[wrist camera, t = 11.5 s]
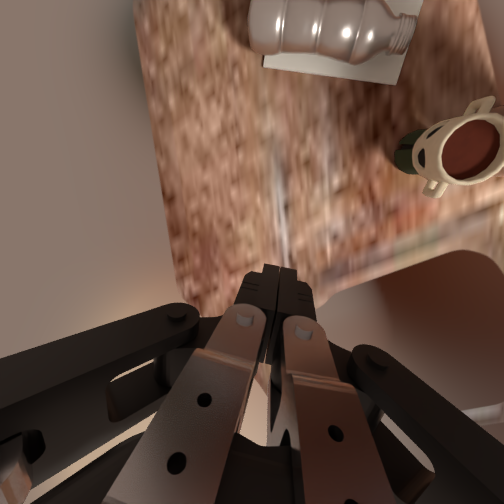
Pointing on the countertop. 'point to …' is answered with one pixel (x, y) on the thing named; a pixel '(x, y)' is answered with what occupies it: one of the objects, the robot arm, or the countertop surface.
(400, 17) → the plastic bottle
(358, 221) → the countertop surface
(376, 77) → the mat
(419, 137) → the character mug
